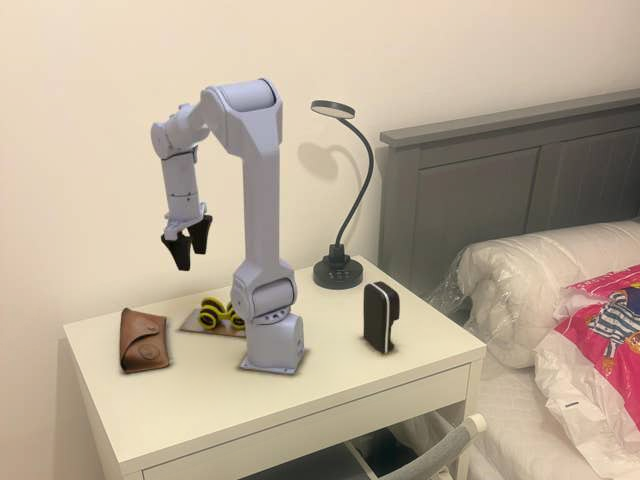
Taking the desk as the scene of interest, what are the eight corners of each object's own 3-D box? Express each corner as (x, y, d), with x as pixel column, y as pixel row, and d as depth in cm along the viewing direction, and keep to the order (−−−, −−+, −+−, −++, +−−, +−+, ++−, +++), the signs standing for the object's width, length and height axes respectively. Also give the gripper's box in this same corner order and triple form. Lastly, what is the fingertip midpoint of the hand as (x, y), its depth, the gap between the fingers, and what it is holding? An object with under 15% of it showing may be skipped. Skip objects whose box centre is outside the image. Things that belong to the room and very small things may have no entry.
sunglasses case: (172, 364, 112) (146, 338, 108) (140, 387, 112) (113, 362, 109) (166, 315, 126) (143, 290, 122) (138, 335, 127) (114, 312, 123)
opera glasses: (199, 332, 122) (194, 312, 119) (203, 314, 126) (199, 294, 122) (250, 332, 122) (247, 312, 118) (253, 314, 125) (250, 294, 122)
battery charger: (400, 350, 115) (403, 291, 108) (382, 356, 113) (384, 297, 107) (379, 332, 120) (381, 275, 113) (361, 338, 118) (362, 280, 112)
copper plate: (259, 317, 126) (259, 315, 126) (245, 337, 119) (245, 336, 119) (197, 310, 128) (197, 309, 128) (180, 330, 122) (180, 329, 122)
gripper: (178, 177, 124) (188, 245, 131) (143, 203, 112) (156, 276, 120) (213, 179, 122) (221, 248, 130) (180, 206, 111) (191, 279, 118)
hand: (192, 261), depth 125 cm, fingers open, 7 cm apart
